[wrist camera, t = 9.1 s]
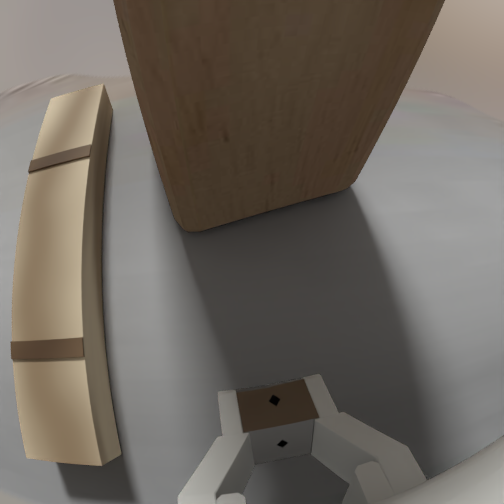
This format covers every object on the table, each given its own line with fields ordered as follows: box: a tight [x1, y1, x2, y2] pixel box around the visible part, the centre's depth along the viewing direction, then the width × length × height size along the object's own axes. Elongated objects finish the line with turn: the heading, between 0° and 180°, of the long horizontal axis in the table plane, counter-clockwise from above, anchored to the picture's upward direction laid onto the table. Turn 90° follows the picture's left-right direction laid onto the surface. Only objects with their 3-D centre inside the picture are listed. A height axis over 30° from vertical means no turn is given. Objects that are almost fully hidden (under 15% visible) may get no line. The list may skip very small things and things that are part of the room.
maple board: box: [11, 84, 121, 466], centre depth 14 cm, size 4×21×3 cm, turn 10°
